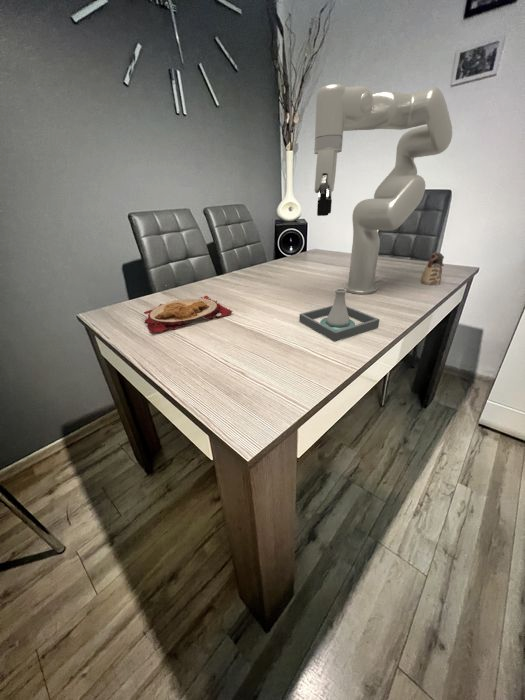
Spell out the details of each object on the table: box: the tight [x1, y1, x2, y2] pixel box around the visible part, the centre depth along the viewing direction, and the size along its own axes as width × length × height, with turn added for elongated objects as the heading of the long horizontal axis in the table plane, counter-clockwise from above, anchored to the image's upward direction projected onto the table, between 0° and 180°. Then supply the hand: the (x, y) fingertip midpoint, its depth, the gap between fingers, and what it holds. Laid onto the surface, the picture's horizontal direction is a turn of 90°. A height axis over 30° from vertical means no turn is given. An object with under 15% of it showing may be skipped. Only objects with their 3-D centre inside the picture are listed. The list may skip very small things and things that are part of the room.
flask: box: [325, 287, 351, 327], centre depth 78 cm, size 7×7×10 cm
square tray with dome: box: [298, 304, 380, 342], centre depth 80 cm, size 16×16×2 cm
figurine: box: [420, 252, 445, 286], centre depth 109 cm, size 7×7×12 cm
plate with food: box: [143, 295, 233, 333], centre depth 94 cm, size 25×26×4 cm
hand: (324, 214), depth 84 cm, fingers open, 9 cm apart
